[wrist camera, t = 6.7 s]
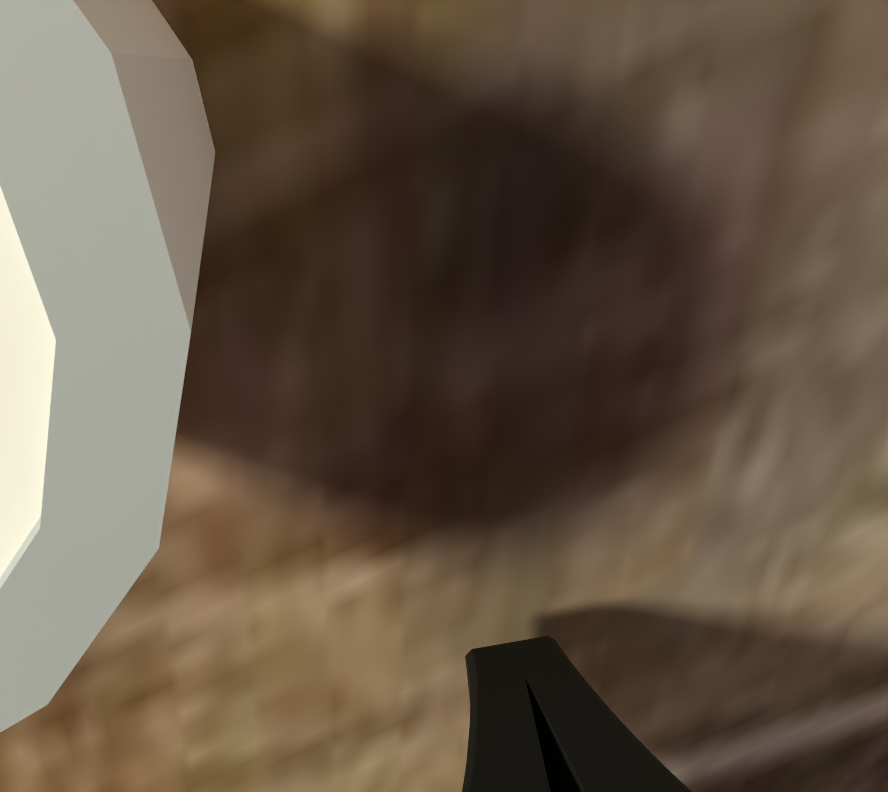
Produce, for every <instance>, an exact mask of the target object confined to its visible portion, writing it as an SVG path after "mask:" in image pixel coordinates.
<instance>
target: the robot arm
mask: <svg viewBox="0 0 888 792" xmlns="http://www.w3.org/2000/svg"><path fill="white" fill-rule="evenodd" d="M465 658H466V668H467V677H468V686H469V696H470V729H469V741H468V752H467V763H466V771H465V777H464V784H463V790H462V792H692V791H690V790H689V789H688V788H687V787H686V786H685V785H684V784H683V783H682V782H681V781H680V780H678V779H677V778H676V777H675V776H674V775H673V774H672V773H671V772H670V771H669V770H668V769H667V768H666V767H665V766H664V765H663V764H662V763H661V762H660V761H659V760H658V759H657V758H656V757H655V756H654V755H653V754H652V753H651V752H650V751H649V750H648V749H647V748H646V747H645V746H644V745H643V744H642V743H641V742H640V741H639V740H638V739H637V738H636V737H635V736H634V735H633V734H632V733H631V732H630V730H629V729H628V728H627V727H626V726H625V725H624V724H623V723H622V722H621V721H620V720H619V719H618V718H617V716H616V715H615V714H614V713H613V712H612V711H611V710H610V709H609V708H608V707H607V705H606V704H605V703H604V702H603V701H602V700H601V699H600V697H599V696H598V695H597V694H596V693H595V691H594V690H593V689H592V688H591V687H590V685H589V684H588V683H587V682H586V681H585V679H584V678H583V677H582V676H581V674H580V673H579V672H578V671H577V669H576V668H575V667H574V665H573V664H572V663H571V662H570V660H569V659H568V658H567V656H566V655H565V654H564V652H563V651H562V649H561V648H560V647H559V645H558V644H557V642H556V641H555V640H554V639H552V638H551V637H549V636H545V637H539V638H533V639H528V640H522V641H516V642H510V643H505V644H499V645H493V646H487V647H482V648H476V649H472V650H471V651H470V652H469V653H468V654H467V655H466V656H465Z"/></svg>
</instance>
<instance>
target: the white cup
mask: <svg viewBox="0 0 888 792" xmlns="http://www.w3.org/2000/svg"><path fill="white" fill-rule="evenodd" d="M214 160H215V149H214V145H213V141H212V137H211V133H210V129H209V125H208V121H207V116H206V112H205V108H204V104H203V100H202V96H201V92H200V88H199V84H198V80H197V76H196V72H195V68H194V64H193V60H192V58H191V57H190V55H189V54H188V52H187V51H186V49H185V48H184V47H183V45H182V44H181V42H180V41H179V39H178V38H177V36H176V35H175V33H174V32H173V30H172V29H171V27H170V26H169V24H168V23H167V21H166V20H165V18H164V17H163V15H162V14H161V12H160V11H159V10H158V8H157V7H156V5H155V4H154V2H153V1H152V0H0V732H2V731H3V730H5V729H7V728H9V727H10V726H12V725H14V724H15V723H17V722H19V721H20V720H22V719H24V718H26V717H27V716H29V715H31V714H32V713H34V712H36V711H37V710H39V709H41V708H42V707H44V706H46V705H47V704H48V703H49V702H50V700H51V699H52V697H53V696H54V695H55V693H56V692H57V690H58V689H59V688H60V686H61V685H62V683H63V682H64V681H65V679H66V678H67V676H68V675H69V673H70V672H71V671H72V669H73V668H74V666H75V665H76V664H77V662H78V661H79V659H80V658H81V657H82V655H83V654H84V652H85V651H86V650H87V648H88V647H89V645H90V644H91V643H92V641H93V640H94V638H95V637H96V636H97V634H98V633H99V631H100V630H101V629H102V627H103V626H104V624H105V623H106V622H107V620H108V619H109V617H110V616H111V615H112V613H113V612H114V610H115V609H116V608H117V606H118V605H119V603H120V602H121V601H122V599H123V598H124V596H125V595H126V593H127V592H128V591H129V589H130V588H131V586H132V585H133V584H134V582H135V581H136V579H137V578H138V577H139V575H140V574H141V572H142V571H143V570H144V568H145V567H146V565H147V564H148V563H149V561H150V560H151V558H152V557H153V556H154V554H155V553H156V551H157V550H158V549H159V543H160V537H161V530H162V523H163V517H164V510H165V503H166V496H167V490H168V483H169V476H170V470H171V463H172V456H173V449H174V443H175V436H176V429H177V423H178V416H179V409H180V403H181V396H182V389H183V382H184V376H185V369H186V362H187V356H188V349H189V342H190V335H191V328H192V321H193V314H194V306H195V299H196V292H197V284H198V277H199V270H200V262H201V255H202V248H203V240H204V233H205V226H206V218H207V211H208V204H209V196H210V189H211V182H212V174H213V167H214Z"/></svg>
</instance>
